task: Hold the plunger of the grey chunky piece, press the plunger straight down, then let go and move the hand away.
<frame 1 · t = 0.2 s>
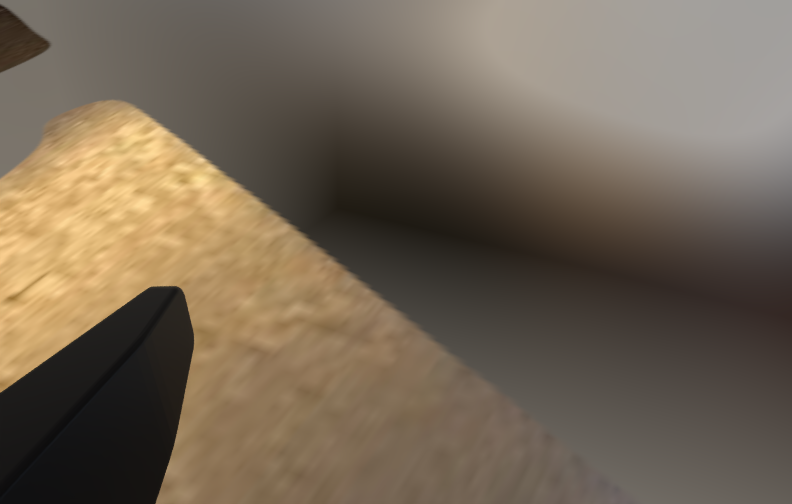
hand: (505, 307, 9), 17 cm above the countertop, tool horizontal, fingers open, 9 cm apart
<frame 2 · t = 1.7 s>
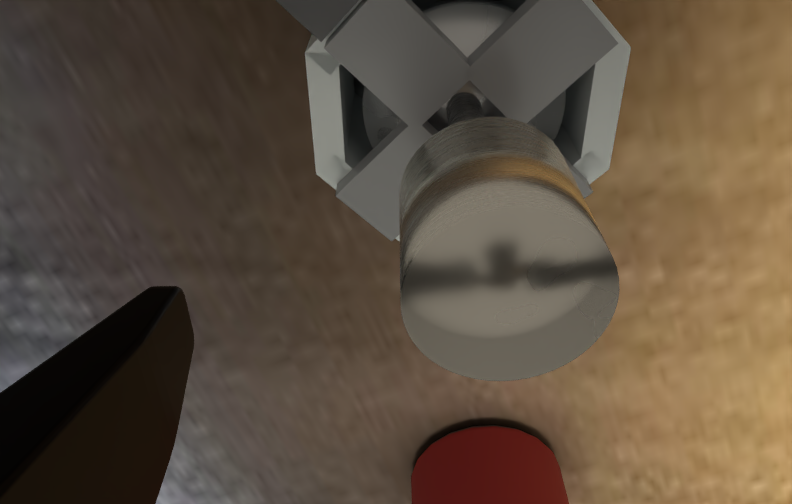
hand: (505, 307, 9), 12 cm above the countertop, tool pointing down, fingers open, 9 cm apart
plunger: (479, 174, 12), point 8 cm above the countertop, slide at 0.0 cm
grey chunky piece: (448, 43, 19), on the countertop
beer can: (483, 463, 30), on the countertop
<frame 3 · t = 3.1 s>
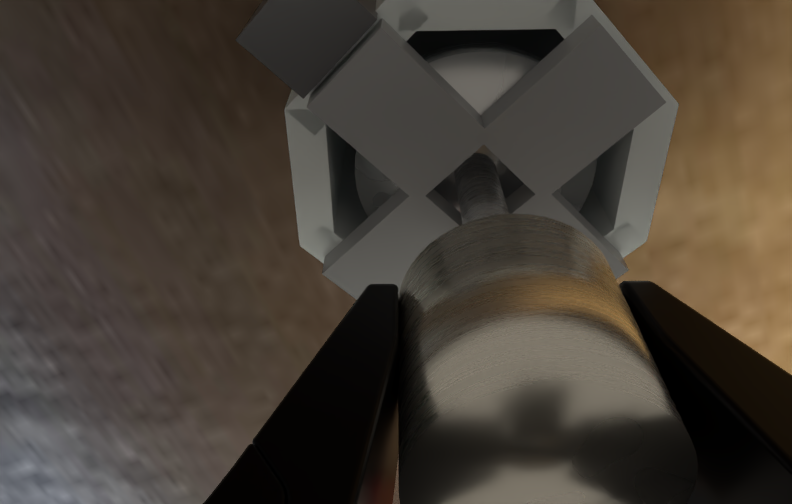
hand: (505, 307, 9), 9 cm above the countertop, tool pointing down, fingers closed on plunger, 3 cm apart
plunger: (497, 270, 10), point 8 cm above the countertop, slide at 0.0 cm, touching gripper
grey chunky piece: (454, 80, 17), on the countertop
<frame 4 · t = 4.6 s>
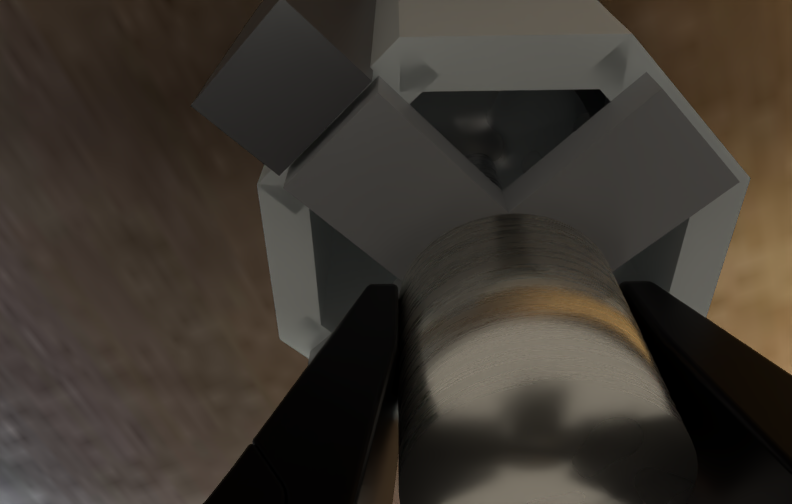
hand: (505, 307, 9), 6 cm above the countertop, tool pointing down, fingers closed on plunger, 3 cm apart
plunger: (497, 270, 10), point 6 cm above the countertop, slide at 2.8 cm, touching gripper
grey chunky piece: (464, 124, 15), on the countertop
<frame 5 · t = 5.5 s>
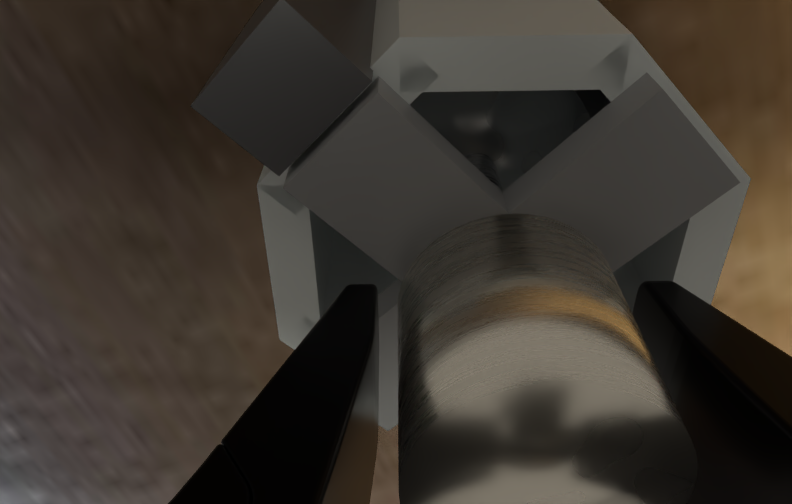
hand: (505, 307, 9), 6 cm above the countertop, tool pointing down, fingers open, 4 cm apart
plunger: (497, 270, 10), point 6 cm above the countertop, slide at 2.8 cm
grey chunky piece: (464, 124, 15), on the countertop
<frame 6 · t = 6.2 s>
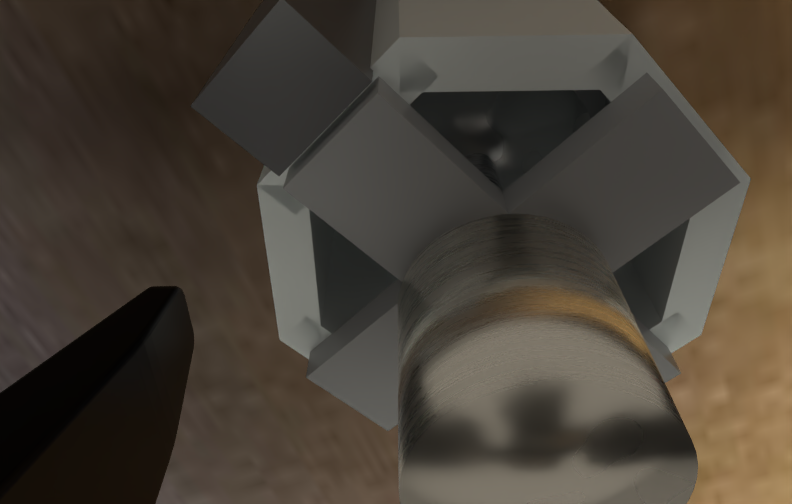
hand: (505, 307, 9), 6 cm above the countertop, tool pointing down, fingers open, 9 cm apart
plunger: (497, 270, 10), point 6 cm above the countertop, slide at 2.8 cm
grey chunky piece: (464, 124, 15), on the countertop
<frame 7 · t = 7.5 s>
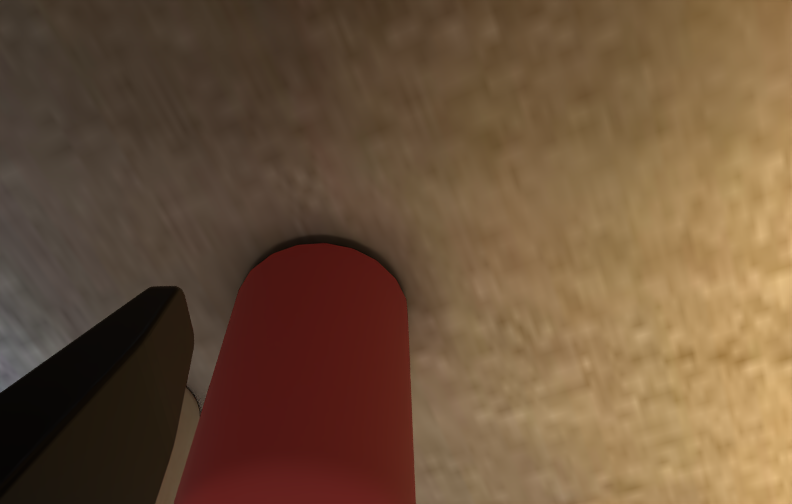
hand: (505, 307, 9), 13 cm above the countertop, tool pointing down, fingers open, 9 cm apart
candle: (139, 404, 29), on the countertop
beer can: (324, 301, 26), on the countertop
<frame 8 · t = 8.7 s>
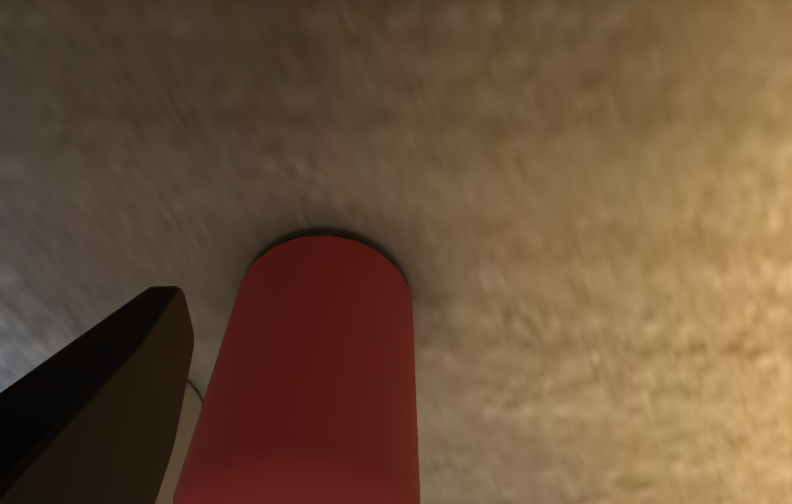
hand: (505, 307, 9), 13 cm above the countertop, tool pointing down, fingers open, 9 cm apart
candle: (142, 400, 29), on the countertop
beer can: (327, 295, 26), on the countertop
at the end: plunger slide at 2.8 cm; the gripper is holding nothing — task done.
